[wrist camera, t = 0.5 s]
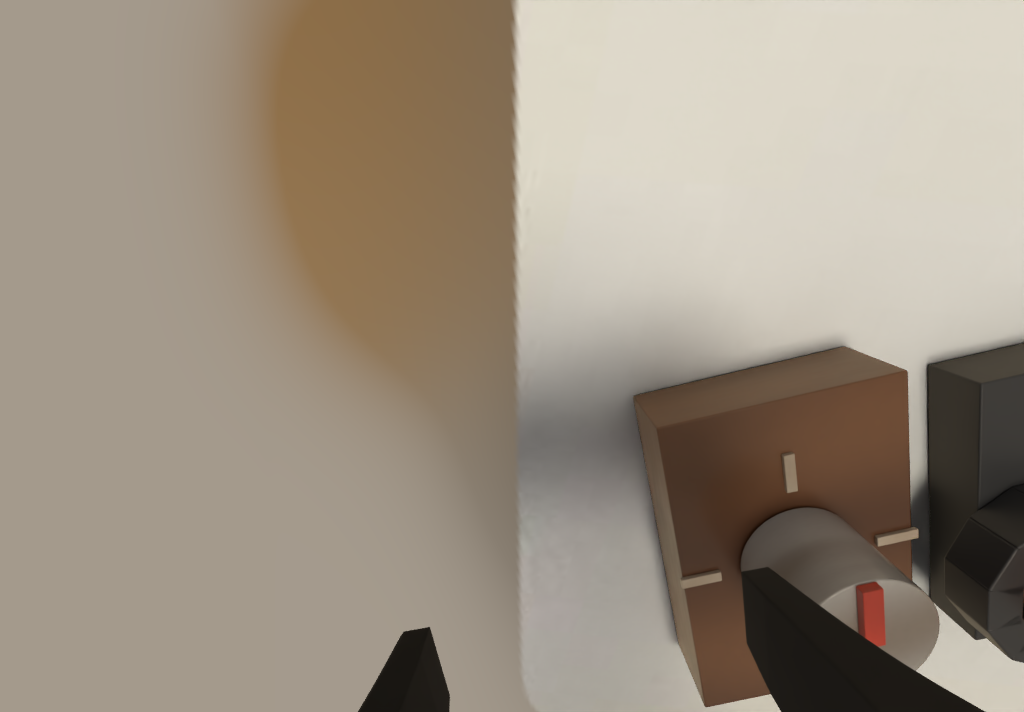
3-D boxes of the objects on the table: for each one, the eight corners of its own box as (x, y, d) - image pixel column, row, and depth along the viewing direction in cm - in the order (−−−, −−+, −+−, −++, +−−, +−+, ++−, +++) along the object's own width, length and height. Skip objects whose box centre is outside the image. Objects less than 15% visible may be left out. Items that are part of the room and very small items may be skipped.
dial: (857, 591, 18) (949, 688, 14) (746, 615, 18) (809, 717, 14) (852, 495, 17) (950, 573, 13) (733, 521, 17) (798, 606, 13)
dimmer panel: (862, 604, 22) (920, 668, 19) (676, 644, 22) (704, 713, 19) (847, 345, 19) (915, 371, 16) (629, 396, 19) (654, 431, 16)
